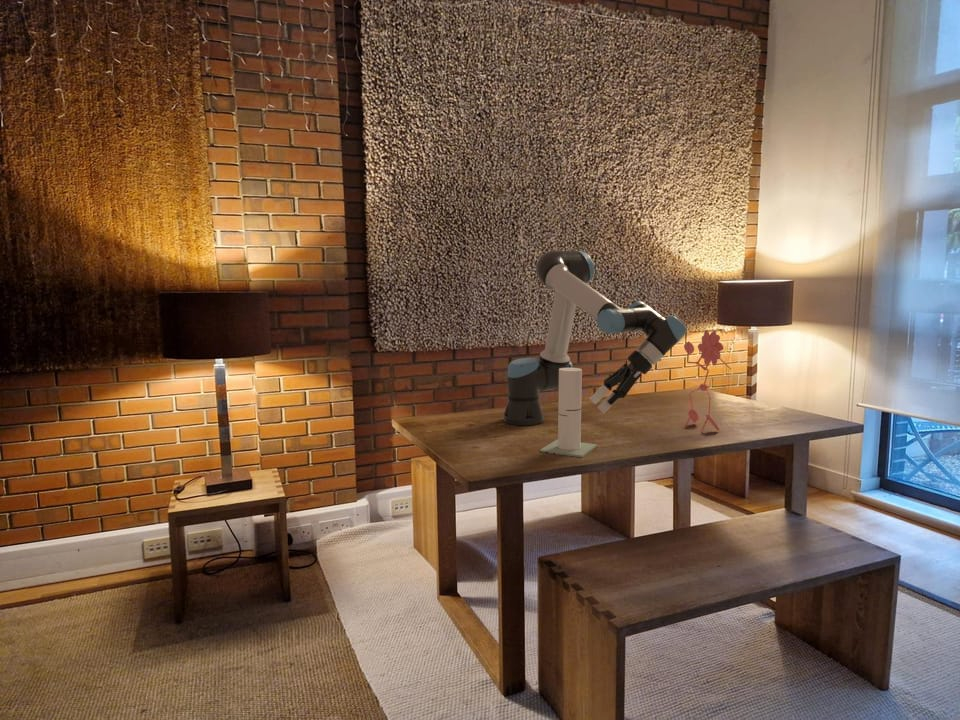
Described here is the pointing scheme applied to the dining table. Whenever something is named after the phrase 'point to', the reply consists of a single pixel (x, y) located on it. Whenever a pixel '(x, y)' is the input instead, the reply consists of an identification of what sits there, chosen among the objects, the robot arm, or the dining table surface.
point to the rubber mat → (577, 453)
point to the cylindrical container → (569, 408)
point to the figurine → (709, 353)
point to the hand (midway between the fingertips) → (596, 406)
